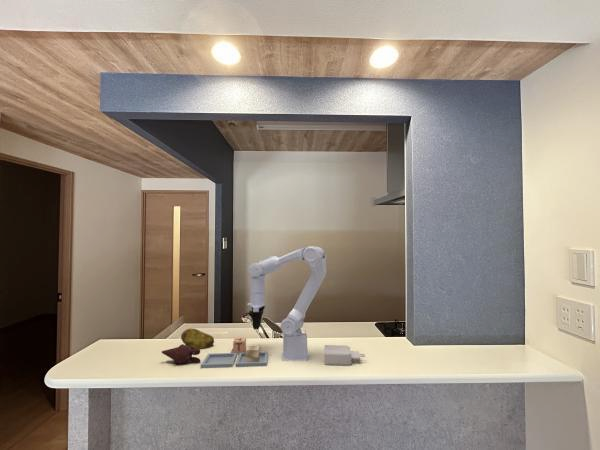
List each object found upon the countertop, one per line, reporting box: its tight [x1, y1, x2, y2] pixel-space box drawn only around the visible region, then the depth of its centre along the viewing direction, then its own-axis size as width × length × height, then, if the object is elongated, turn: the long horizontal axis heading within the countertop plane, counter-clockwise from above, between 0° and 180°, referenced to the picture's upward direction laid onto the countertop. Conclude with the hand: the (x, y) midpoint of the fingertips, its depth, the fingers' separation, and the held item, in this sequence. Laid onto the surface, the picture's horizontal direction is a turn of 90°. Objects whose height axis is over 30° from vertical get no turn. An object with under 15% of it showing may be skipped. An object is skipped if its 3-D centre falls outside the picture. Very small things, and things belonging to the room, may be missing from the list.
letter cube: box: [232, 337, 247, 353], centre depth 116 cm, size 4×5×5 cm
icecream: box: [161, 343, 201, 365], centre depth 105 cm, size 7×7×15 cm
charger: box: [323, 344, 366, 366], centre depth 107 cm, size 5×9×15 cm
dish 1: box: [200, 352, 238, 369], centre depth 105 cm, size 11×11×2 cm
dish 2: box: [234, 351, 269, 368], centre depth 106 cm, size 11×11×2 cm
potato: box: [180, 328, 215, 350], centre depth 122 cm, size 8×13×8 cm, turn 82°
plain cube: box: [246, 345, 260, 362], centre depth 106 cm, size 4×4×4 cm
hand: (257, 326), depth 116 cm, fingers open, 7 cm apart
